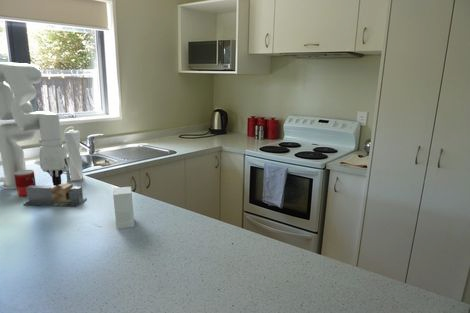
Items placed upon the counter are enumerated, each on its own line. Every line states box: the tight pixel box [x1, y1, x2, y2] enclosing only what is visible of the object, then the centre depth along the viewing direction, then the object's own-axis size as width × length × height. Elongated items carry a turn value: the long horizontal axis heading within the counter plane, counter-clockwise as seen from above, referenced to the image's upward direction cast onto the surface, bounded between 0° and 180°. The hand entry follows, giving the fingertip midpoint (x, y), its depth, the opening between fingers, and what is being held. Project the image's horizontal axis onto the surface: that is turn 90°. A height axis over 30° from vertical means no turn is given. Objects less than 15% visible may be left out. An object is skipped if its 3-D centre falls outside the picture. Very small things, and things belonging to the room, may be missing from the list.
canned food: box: [14, 169, 37, 198], centre depth 160 cm, size 8×8×11 cm
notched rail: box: [22, 185, 88, 208], centre depth 150 cm, size 24×9×7 cm, turn 84°
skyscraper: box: [63, 125, 84, 184], centre depth 180 cm, size 8×8×28 cm
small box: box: [112, 186, 135, 230], centre depth 127 cm, size 8×6×13 cm
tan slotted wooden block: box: [51, 183, 74, 201], centre depth 149 cm, size 6×6×6 cm
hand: (57, 184), depth 148 cm, fingers closed
